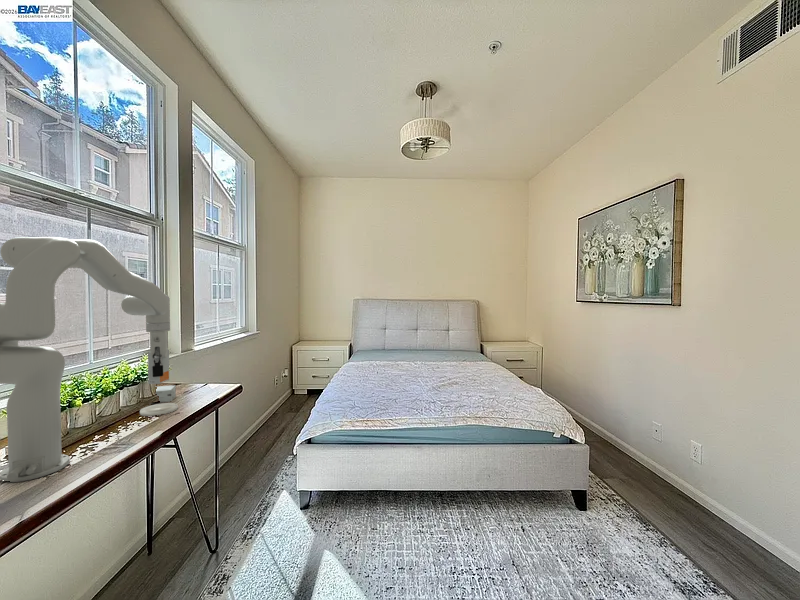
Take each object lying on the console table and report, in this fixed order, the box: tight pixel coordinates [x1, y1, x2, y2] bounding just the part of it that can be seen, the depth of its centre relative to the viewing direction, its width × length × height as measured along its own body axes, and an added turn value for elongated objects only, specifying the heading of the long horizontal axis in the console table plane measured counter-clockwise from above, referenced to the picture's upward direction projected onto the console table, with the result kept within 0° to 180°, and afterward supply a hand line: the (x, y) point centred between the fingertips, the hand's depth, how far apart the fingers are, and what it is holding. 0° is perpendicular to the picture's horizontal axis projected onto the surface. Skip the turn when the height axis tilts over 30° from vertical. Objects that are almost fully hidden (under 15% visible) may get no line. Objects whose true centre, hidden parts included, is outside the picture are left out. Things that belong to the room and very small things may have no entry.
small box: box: [156, 384, 177, 403], centre depth 149 cm, size 8×8×5 cm
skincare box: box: [147, 349, 170, 385], centre depth 135 cm, size 6×4×12 cm
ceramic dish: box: [139, 402, 179, 417], centre depth 136 cm, size 12×12×1 cm
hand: (159, 373), depth 136 cm, fingers closed on skincare box, 7 cm apart
